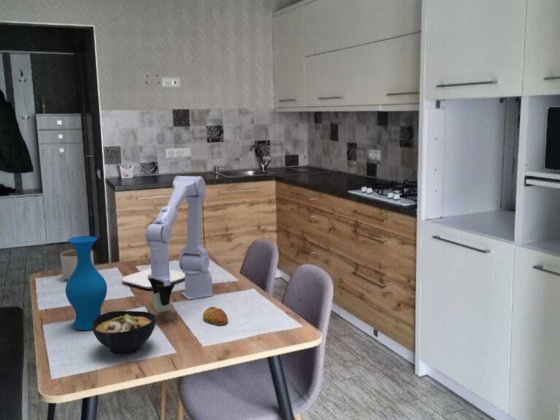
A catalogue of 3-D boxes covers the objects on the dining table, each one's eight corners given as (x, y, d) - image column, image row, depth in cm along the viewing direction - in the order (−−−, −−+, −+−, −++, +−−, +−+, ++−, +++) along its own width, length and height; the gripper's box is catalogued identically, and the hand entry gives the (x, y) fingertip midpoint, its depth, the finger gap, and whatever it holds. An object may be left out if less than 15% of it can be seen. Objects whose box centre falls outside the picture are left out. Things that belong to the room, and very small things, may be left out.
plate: (157, 271, 231) (156, 266, 231) (191, 279, 219) (191, 274, 219) (117, 283, 215) (116, 278, 214) (152, 293, 203) (152, 287, 202)
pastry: (233, 323, 172) (233, 312, 172) (214, 328, 169) (214, 317, 168) (218, 315, 180) (218, 304, 179) (200, 319, 176) (200, 308, 175)
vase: (89, 315, 180) (83, 233, 175) (117, 322, 174) (112, 237, 170) (59, 328, 170) (52, 241, 165) (88, 335, 164) (81, 245, 159)
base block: (172, 313, 182) (172, 303, 182) (177, 321, 175) (176, 311, 174) (148, 316, 179) (147, 306, 179) (152, 325, 172) (151, 315, 171)
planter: (72, 273, 228) (70, 248, 226) (100, 274, 226) (98, 249, 224) (56, 282, 216) (54, 256, 214) (85, 283, 214) (83, 257, 212)
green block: (166, 305, 180) (165, 291, 179) (171, 310, 176) (170, 295, 175) (153, 308, 177) (152, 293, 176) (157, 312, 173) (156, 297, 173)
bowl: (120, 333, 165) (118, 302, 163) (168, 342, 159) (167, 309, 157) (80, 356, 150) (78, 322, 148) (131, 367, 143) (129, 331, 141)
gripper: (141, 257, 178) (143, 296, 181) (153, 268, 166) (156, 310, 168) (162, 254, 181) (164, 293, 184) (176, 264, 169) (178, 306, 171)
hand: (161, 301), depth 176 cm, fingers open, 7 cm apart
